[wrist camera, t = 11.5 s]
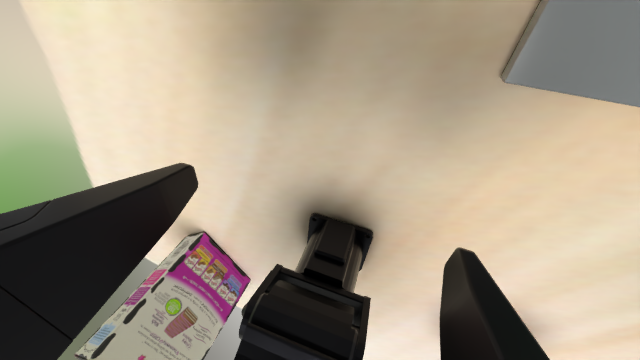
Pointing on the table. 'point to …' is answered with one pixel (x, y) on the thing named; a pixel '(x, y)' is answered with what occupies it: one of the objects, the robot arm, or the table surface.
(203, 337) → the candy bar box
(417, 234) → the table surface
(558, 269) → the table surface
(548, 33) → the board
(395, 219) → the table surface
